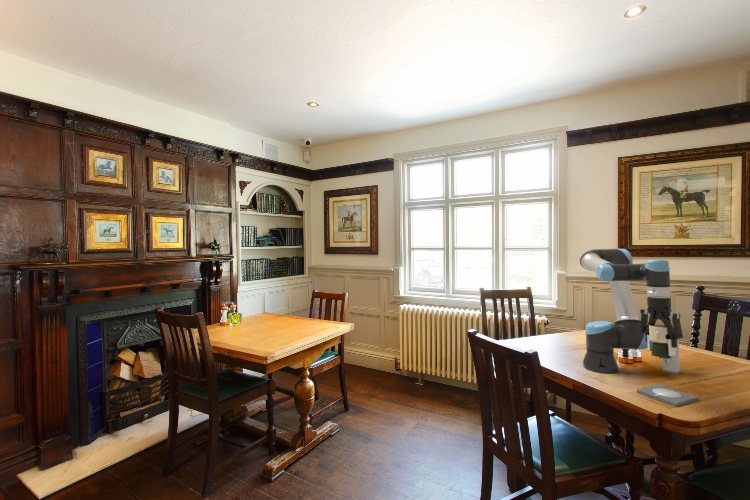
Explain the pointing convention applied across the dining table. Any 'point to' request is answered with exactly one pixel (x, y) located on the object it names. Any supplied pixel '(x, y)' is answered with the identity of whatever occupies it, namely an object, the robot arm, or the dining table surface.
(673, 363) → the travel mug
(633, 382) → the dining table surface
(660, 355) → the character mug
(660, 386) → the charging pad
